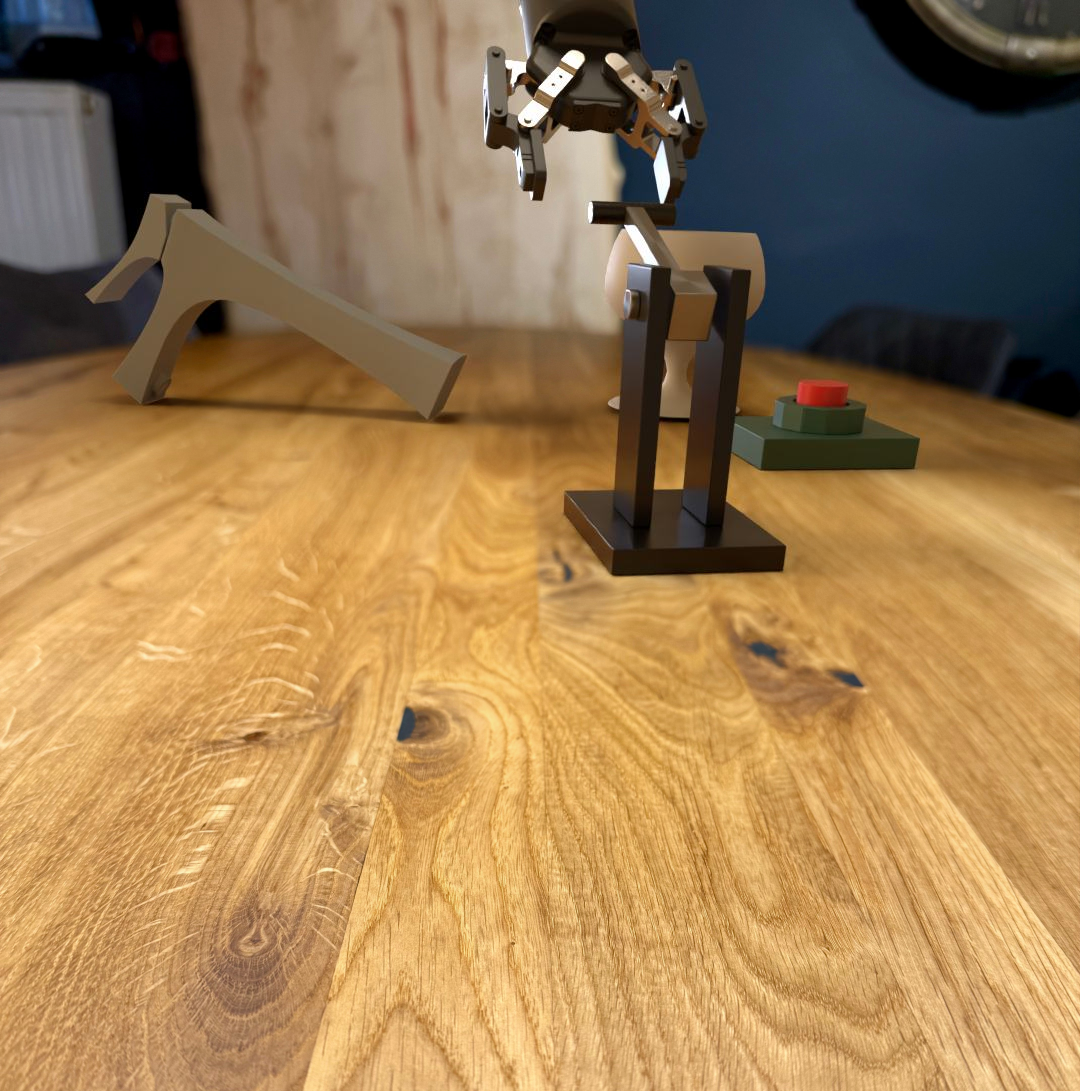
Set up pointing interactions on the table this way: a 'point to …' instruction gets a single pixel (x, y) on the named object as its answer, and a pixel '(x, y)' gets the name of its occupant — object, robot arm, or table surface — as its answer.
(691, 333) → the lever
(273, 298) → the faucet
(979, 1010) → the table surface
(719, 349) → the bracket
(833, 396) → the button
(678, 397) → the chalice
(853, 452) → the button box
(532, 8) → the robot arm
